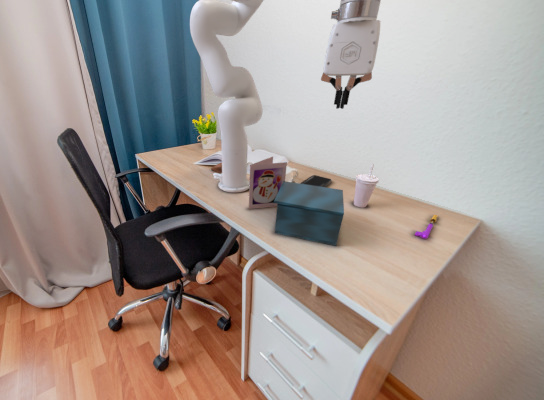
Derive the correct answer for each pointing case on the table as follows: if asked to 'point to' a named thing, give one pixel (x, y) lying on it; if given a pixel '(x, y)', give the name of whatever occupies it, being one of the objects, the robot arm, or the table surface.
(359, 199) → the smoothie
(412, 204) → the table surface
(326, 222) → the keepsake box
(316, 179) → the phone
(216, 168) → the sunglasses case
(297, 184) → the lid
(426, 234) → the purple bent handle tool
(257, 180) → the greeting card
